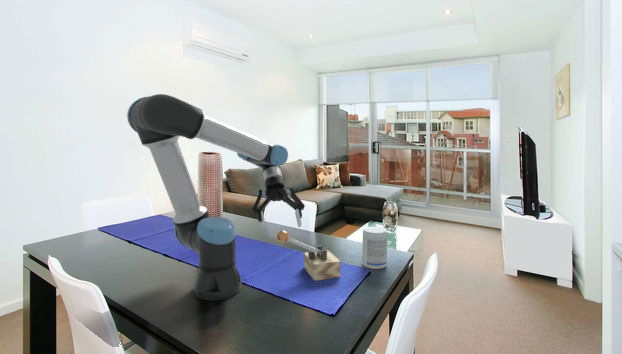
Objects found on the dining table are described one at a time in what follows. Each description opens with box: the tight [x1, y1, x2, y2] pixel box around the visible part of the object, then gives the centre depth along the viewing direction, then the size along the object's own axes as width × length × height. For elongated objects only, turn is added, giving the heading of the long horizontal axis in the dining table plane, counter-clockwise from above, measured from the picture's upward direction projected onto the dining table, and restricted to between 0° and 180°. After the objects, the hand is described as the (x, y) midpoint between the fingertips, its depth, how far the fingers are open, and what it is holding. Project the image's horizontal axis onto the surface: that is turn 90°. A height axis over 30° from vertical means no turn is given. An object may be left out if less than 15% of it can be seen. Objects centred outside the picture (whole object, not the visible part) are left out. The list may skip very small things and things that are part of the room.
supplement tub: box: [362, 226, 388, 270], centre depth 123 cm, size 10×10×15 cm
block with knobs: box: [303, 244, 341, 282], centre depth 117 cm, size 10×12×10 cm
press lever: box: [276, 230, 323, 256], centre depth 113 cm, size 4×4×20 cm
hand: (282, 227), depth 114 cm, fingers open, 13 cm apart
